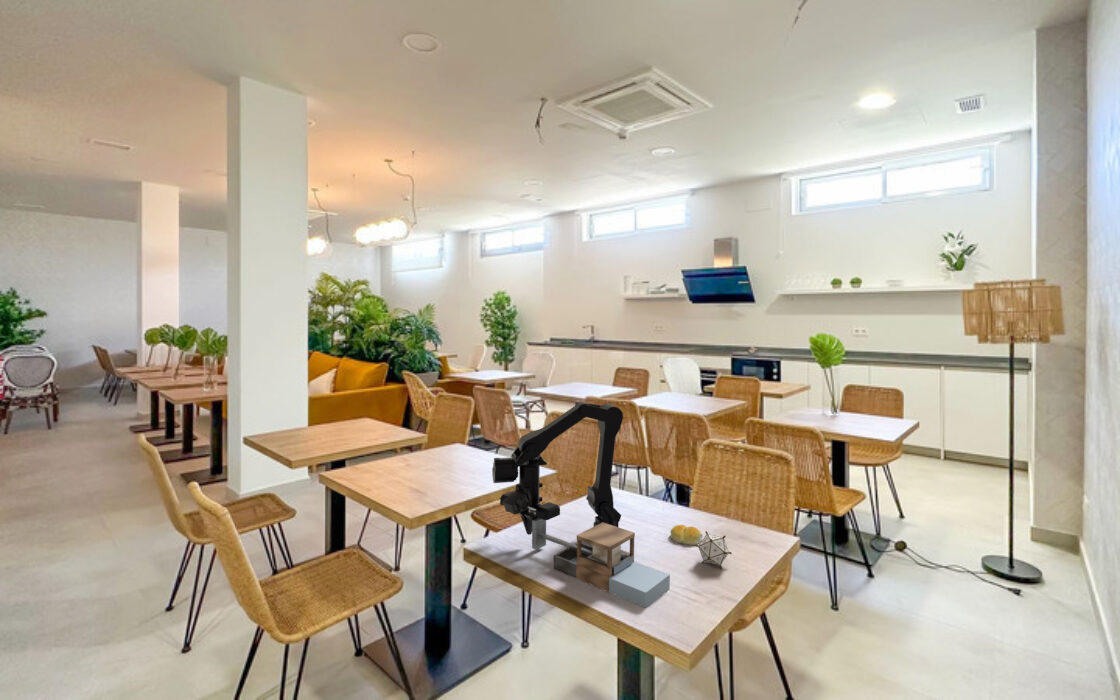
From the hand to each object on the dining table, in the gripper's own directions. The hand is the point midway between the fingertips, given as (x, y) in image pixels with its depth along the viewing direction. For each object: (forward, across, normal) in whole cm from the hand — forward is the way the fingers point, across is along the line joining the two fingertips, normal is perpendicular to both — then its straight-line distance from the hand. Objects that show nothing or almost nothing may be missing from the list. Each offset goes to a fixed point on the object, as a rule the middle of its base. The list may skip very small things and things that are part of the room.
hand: (529, 534), depth 147 cm
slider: (+2, +18, 0) cm, 18 cm away
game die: (+4, +44, +25) cm, 51 cm away
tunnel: (+3, +23, 0) cm, 23 cm away
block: (0, +27, 0) cm, 27 cm away
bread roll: (+4, +31, +34) cm, 47 cm away
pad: (+3, +37, 0) cm, 37 cm away
